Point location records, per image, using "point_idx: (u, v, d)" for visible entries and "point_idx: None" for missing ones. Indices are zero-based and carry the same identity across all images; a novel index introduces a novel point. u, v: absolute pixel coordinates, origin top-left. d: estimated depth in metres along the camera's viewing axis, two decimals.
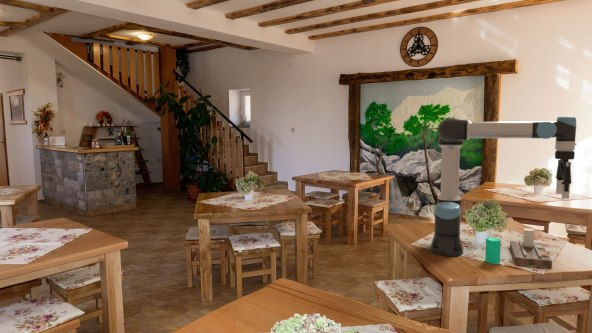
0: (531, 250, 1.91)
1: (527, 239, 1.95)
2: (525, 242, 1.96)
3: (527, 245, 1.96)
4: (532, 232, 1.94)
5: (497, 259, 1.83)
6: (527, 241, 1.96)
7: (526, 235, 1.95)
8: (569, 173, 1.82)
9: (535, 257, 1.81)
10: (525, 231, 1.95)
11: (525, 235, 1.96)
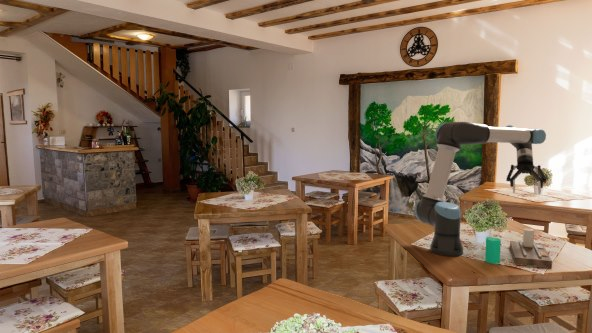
0: (531, 250, 1.91)
1: (527, 239, 1.95)
2: (525, 242, 1.96)
3: (527, 245, 1.96)
4: (532, 232, 1.94)
5: (497, 259, 1.83)
6: (527, 241, 1.96)
7: (526, 235, 1.95)
8: None
9: (535, 257, 1.81)
10: (525, 231, 1.95)
11: (525, 235, 1.96)
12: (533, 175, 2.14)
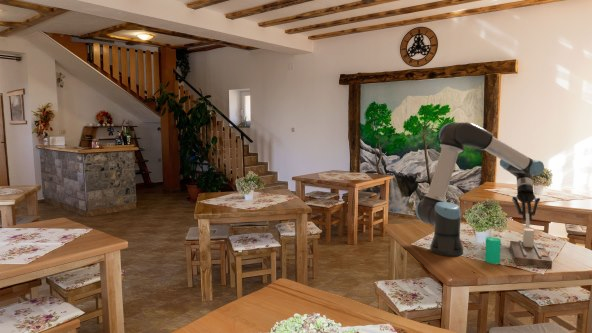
0: (531, 250, 1.91)
1: (527, 239, 1.95)
2: (525, 242, 1.96)
3: (527, 245, 1.96)
4: (532, 232, 1.94)
5: (497, 259, 1.83)
6: (527, 241, 1.96)
7: (526, 235, 1.95)
8: None
9: (535, 257, 1.81)
10: (525, 231, 1.95)
11: (525, 235, 1.96)
12: None
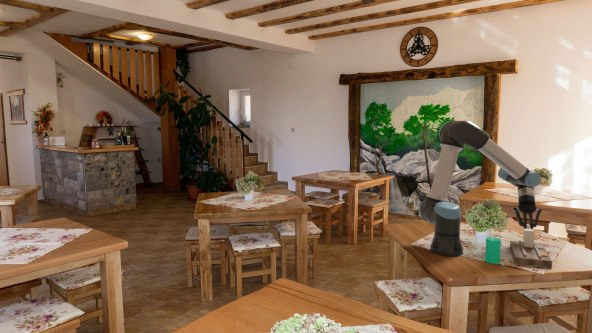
0: (531, 250, 1.91)
1: (527, 239, 1.95)
2: (525, 242, 1.95)
3: (527, 245, 1.95)
4: (532, 232, 1.94)
5: (497, 259, 1.83)
6: (527, 241, 1.95)
7: (526, 235, 1.95)
8: None
9: (535, 257, 1.81)
10: (525, 231, 1.95)
11: (525, 235, 1.95)
12: (529, 217, 2.06)
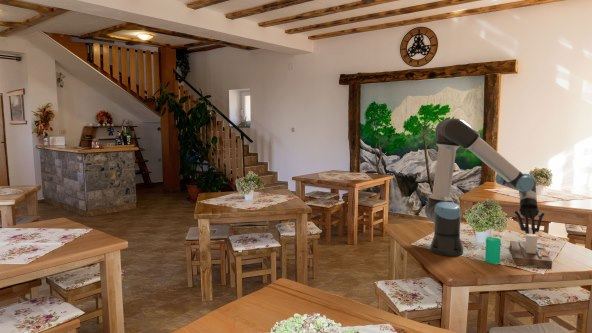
0: None
1: (530, 245, 1.86)
2: (528, 248, 1.86)
3: (530, 251, 1.86)
4: (535, 238, 1.85)
5: (497, 259, 1.83)
6: (530, 247, 1.86)
7: (529, 241, 1.86)
8: None
9: (535, 257, 1.81)
10: (528, 237, 1.86)
11: (528, 241, 1.86)
12: (531, 221, 1.97)
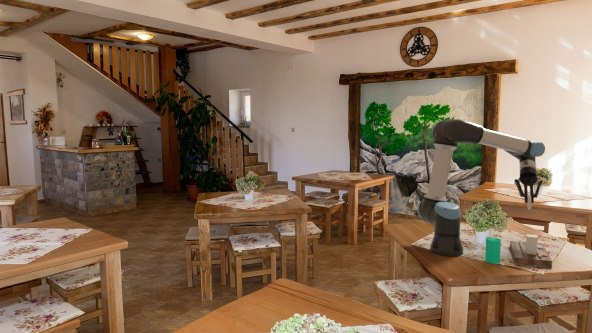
0: None
1: (530, 246, 1.84)
2: (528, 249, 1.85)
3: (530, 252, 1.85)
4: (535, 239, 1.83)
5: (497, 259, 1.83)
6: (530, 248, 1.85)
7: (529, 242, 1.84)
8: (538, 190, 2.06)
9: (535, 257, 1.81)
10: (528, 237, 1.84)
11: (528, 242, 1.85)
12: (530, 188, 2.08)
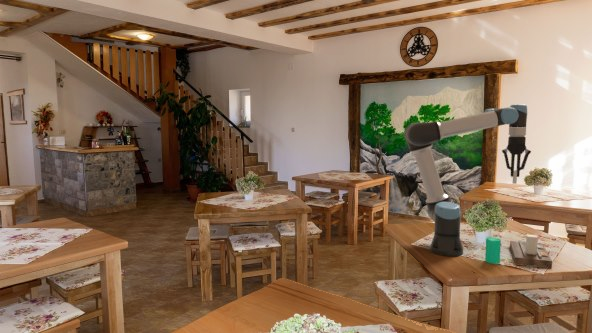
0: None
1: (530, 246, 1.84)
2: (528, 249, 1.85)
3: (530, 252, 1.85)
4: (535, 239, 1.83)
5: (497, 259, 1.83)
6: (530, 248, 1.85)
7: (529, 242, 1.84)
8: (525, 160, 2.04)
9: (535, 257, 1.81)
10: (528, 237, 1.84)
11: (528, 242, 1.85)
12: (517, 159, 2.05)
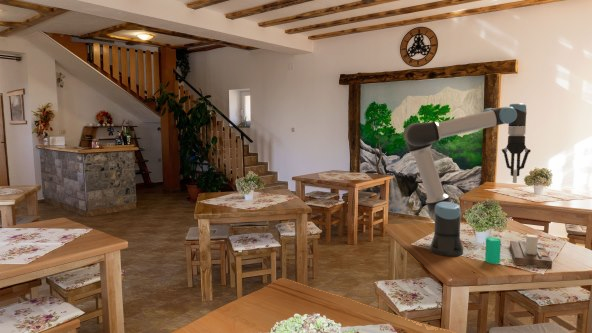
0: None
1: (530, 246, 1.84)
2: (528, 249, 1.85)
3: (530, 252, 1.85)
4: (535, 239, 1.83)
5: (497, 259, 1.83)
6: (530, 248, 1.85)
7: (529, 242, 1.84)
8: (525, 159, 2.04)
9: (535, 257, 1.81)
10: (528, 237, 1.84)
11: (528, 242, 1.85)
12: (517, 158, 2.05)
